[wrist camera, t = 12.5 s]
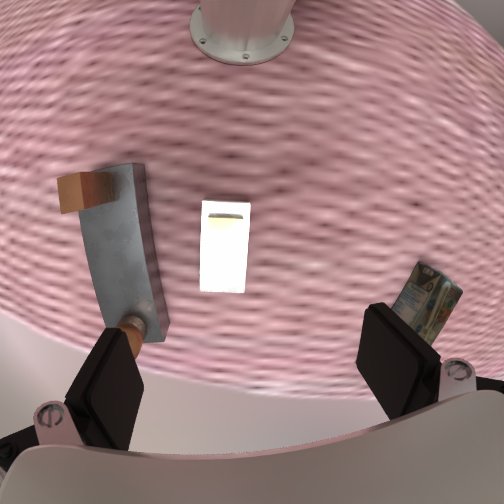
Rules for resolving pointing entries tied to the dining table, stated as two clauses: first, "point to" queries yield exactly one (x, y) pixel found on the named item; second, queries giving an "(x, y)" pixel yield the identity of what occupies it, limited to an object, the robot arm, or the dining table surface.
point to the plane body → (119, 249)
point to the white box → (224, 245)
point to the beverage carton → (427, 301)
